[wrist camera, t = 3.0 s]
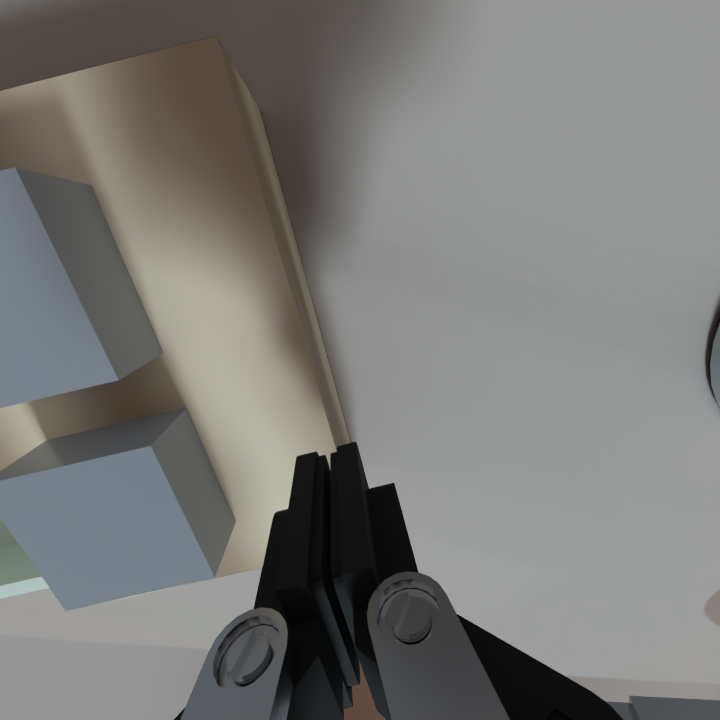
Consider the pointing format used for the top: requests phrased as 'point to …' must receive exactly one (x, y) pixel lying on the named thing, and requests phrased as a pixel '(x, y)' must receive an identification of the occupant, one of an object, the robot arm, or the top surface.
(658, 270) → the top surface
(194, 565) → the tile
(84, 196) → the tile
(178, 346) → the board
